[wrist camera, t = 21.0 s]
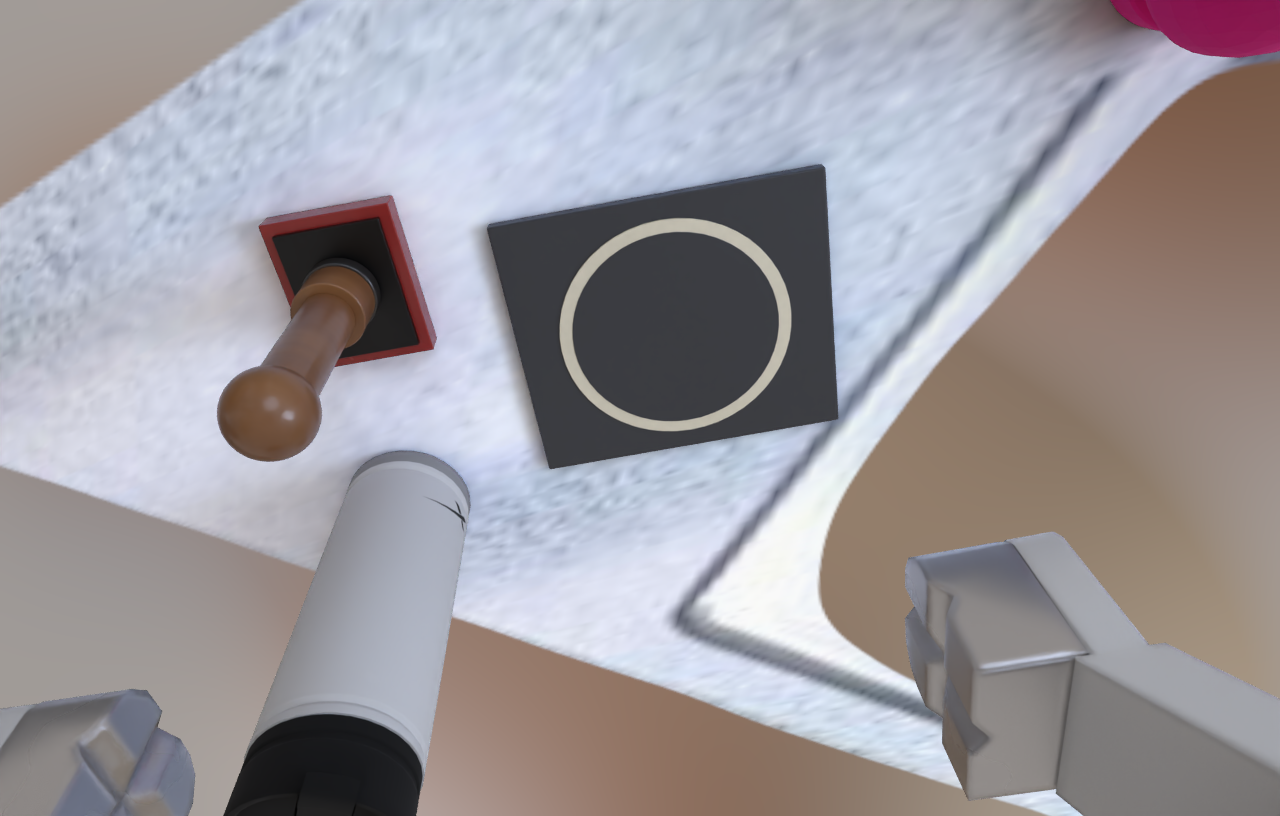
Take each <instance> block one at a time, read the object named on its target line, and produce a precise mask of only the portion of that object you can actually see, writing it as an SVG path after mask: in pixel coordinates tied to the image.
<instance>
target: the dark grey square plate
mask: <svg viewBox="0 0 1280 816" xmlns="http://www.w3.org/2000/svg"><path fill="white" fill-rule="evenodd" d="M487 231H488V234H489V238H490V242H491V246H492V250H493V254H494V257H495V261H496V265H497V269H498V273H499V277H500V280H501V284H502V288H503V292H504V296H505V300H506V303H507V307H508V311H509V315H510V319H511V323H512V327H513V330H514V334H515V338H516V342H517V346H518V350H519V353H520V357H521V361H522V365H523V369H524V373H525V376H526V380H527V384H528V388H529V392H530V396H531V399H532V403H533V407H534V411H535V415H536V419H537V422H538V426H539V430H540V434H541V438H542V442H543V446H544V449H545V453H546V457H547V461H548V465H549V468H550V469H554V468H560V467H566V466H572V465H577V464H583V463H589V462H595V461H600V460H606V459H612V458H618V457H623V456H629V455H635V454H641V453H646V452H652V451H658V450H664V449H669V448H675V447H681V446H687V445H692V444H698V443H704V442H710V441H715V440H721V439H727V438H733V437H738V436H744V435H750V434H756V433H762V432H767V431H773V430H779V429H785V428H790V427H796V426H802V425H808V424H813V423H819V422H825V421H831V420H836V419H838V402H837V383H836V364H835V345H834V325H833V306H832V287H831V268H830V249H829V230H828V210H827V191H826V172H825V167H824V166H823V165H822V164H820V165H815V166H809V167H803V168H798V169H792V170H787V171H781V172H776V173H770V174H765V175H759V176H753V177H748V178H742V179H737V180H731V181H726V182H720V183H715V184H709V185H704V186H698V187H692V188H687V189H681V190H676V191H670V192H665V193H659V194H654V195H648V196H643V197H637V198H631V199H626V200H620V201H615V202H609V203H604V204H598V205H593V206H587V207H581V208H576V209H570V210H565V211H559V212H554V213H548V214H543V215H537V216H532V217H526V218H520V219H515V220H509V221H504V222H498V223H493V224H489V225H488V227H487Z"/></svg>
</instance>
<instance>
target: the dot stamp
mask: <svg viewBox="0 0 1280 816" xmlns="http://www.w3.org/2000/svg"><path fill="white" fill-rule="evenodd" d="M380 300H381V294H380V288H379V285H378V283H377V281H376V279H375V277H374V276H373V275H372V273H371V272H370V271H369V270H368V269H367V268H365V267H364V266H363V265H361V264H360V263H358V262H356V261H353V260H350V259H346V258H330V259H326V260H323V261H321V262H319V263H318V264H316V265H315V266H314V267H313V268H312V269H311V270H310V272H309V273H308V275H307V276H306V278H305V279H304V282H303V285H302V287H301V289H300V290H299V291H298V293H297V294H296V296H295V297H294V299H293V301H292V304H291V310H290V311H291V319H292V320H291V322H290V323H289V325H288V326H287V328H286V329H285V330H284V332H283V333H282V335H281V336H280V338H279V339H278V341H277V342H276V344H275V345H274V346H273V348H272V349H271V351H270V352H269V354H268V355H267V357H266V358H265V360H264V361H263V363H262V364H261V365H260V366H258V367H254V368H251V369H248V370H246V371H244V372H242V373H240V374H239V375H237V376H236V377H235V378H233V379H232V380H231V381H230V383H229V384H228V385H227V386H226V387H225V389H224V390H223V392H222V394H221V396H220V399H219V403H218V407H217V420H218V425H219V428H220V431H221V433H222V435H223V437H224V438H225V440H226V441H227V442H228V444H229V445H230V446H231V447H232V448H233V449H235V450H236V451H237V452H239V453H240V454H242V455H244V456H246V457H248V458H251V459H254V460H258V461H266V462H274V461H280V460H285V459H288V458H290V457H293V456H295V455H297V454H298V453H300V452H301V451H303V450H304V449H305V448H306V447H307V446H308V445H309V444H310V443H311V442H312V441H313V439H314V438H315V436H316V435H317V433H318V430H319V427H320V424H321V419H322V408H321V402H320V399H319V395H320V393H321V391H322V389H323V387H324V386H325V384H326V382H327V380H328V378H329V376H330V374H331V372H332V370H333V368H334V366H335V364H336V363H337V361H338V359H339V357H340V355H341V353H342V351H343V349H344V348H347V347H350V346H351V345H353V344H354V343H356V342H357V341H358V340H359V339H360V338H361V336H362V335H363V333H364V331H365V329H366V327H367V325H368V323H369V322H370V321H371V320H372V319H373V318H374V316H375V314H376V312H377V310H378V308H379V305H380Z"/></svg>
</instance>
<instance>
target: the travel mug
mask: <svg viewBox="0 0 1280 816" xmlns="http://www.w3.org/2000/svg"><path fill="white" fill-rule="evenodd" d="M469 511H470V495H469V492H468V489H467V486H466V484H465V483H464V481H463V479H462V478H461V477H460V475H459V474H458V473H457V472H456V471H455V470H454V469H453V468H452V467H450V466H449V465H448V464H446V463H445V462H443V461H442V460H440V459H438V458H436V457H434V456H431V455H428V454H425V453H420V452H414V451H396V452H390V453H385V454H382V455H379V456H377V457H374V458H373V459H371V460H369V461H368V462H366V463H365V464H364V465H363V466H361V467H360V468H359V469H358V470H357V472H356V473H355V475H354V476H353V478H352V480H351V483H350V485H349V488H348V490H347V493H346V496H345V498H344V501H343V503H342V506H341V508H340V511H339V514H338V516H337V519H336V521H335V524H334V527H333V529H332V532H331V534H330V537H329V539H328V542H327V545H326V547H325V550H324V552H323V555H322V557H321V560H320V563H319V565H318V568H317V570H316V573H315V576H314V578H313V581H312V584H311V586H310V588H309V591H308V594H307V597H306V599H305V601H304V604H303V607H302V609H301V612H300V614H299V617H298V619H297V622H296V625H295V627H294V630H293V632H292V635H291V637H290V640H289V643H288V645H287V648H286V651H285V653H284V656H283V658H282V661H281V663H280V666H279V668H278V671H277V674H276V676H275V679H274V682H273V684H272V686H271V689H270V692H269V695H268V697H267V700H266V702H265V705H264V707H263V710H262V712H261V715H260V717H259V720H258V723H257V725H256V728H255V731H254V733H253V736H252V739H251V741H250V743H249V746H248V748H247V751H246V754H245V757H244V764H243V766H242V769H241V772H240V774H239V776H238V779H237V782H236V784H235V787H234V790H233V792H232V795H231V797H230V800H229V802H228V805H227V807H226V810H225V813H224V815H223V816H416V813H417V807H418V800H419V795H420V790H421V788H422V786H423V781H424V776H425V769H426V762H427V758H428V752H429V746H430V740H431V734H432V728H433V723H434V717H435V711H436V705H437V699H438V693H439V688H440V681H441V676H442V670H443V664H444V658H445V652H446V646H447V640H448V635H449V629H450V623H451V617H452V611H453V605H454V599H455V594H456V588H457V582H458V576H459V570H460V564H461V558H462V552H463V547H464V541H465V535H466V529H467V523H468V517H469Z"/></svg>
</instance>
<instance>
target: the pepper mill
mask: <svg viewBox="0 0 1280 816" xmlns="http://www.w3.org/2000/svg"><path fill="white" fill-rule="evenodd" d="M1110 1H1111V3H1112V4H1113V6H1114V7H1115V9H1116V10H1117V11H1118V12H1119V13H1120V14H1121V15H1122V16H1123V17H1124V18H1126V19H1127V20H1128V21H1130V22H1132V23H1134V24H1136V25H1138V26H1140V27H1144V28H1148V29H1153V30H1158V31H1161V32H1163V33H1164V34H1165V35H1166V36H1167V37H1168V38H1169V39H1170V40H1171V41H1172V42H1173V43H1175V44H1176V45H1178V46H1180V47H1182V48H1184V49H1186V50H1189V51H1191V52H1193V53H1198V54H1202V55H1208V56H1220V57H1237V58H1240V57H1247V56H1254V55H1260V54H1266V53H1272V52H1277V51H1280V0H1110Z"/></svg>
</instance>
